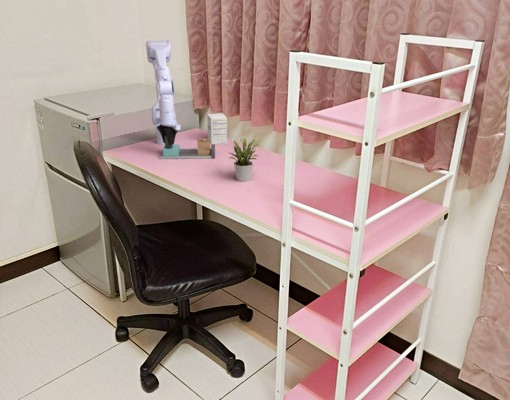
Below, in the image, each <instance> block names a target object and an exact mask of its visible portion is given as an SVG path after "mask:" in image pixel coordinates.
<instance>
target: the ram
mask: <svg viewBox="0 0 510 400" xmlns="http://www.w3.org/2000/svg"><path fill="white" fill-rule="evenodd" d="M163 146H164V147H163V148H162V149H163V156H179V153H180V149H181V147H180V144H173V145H169V144H168V138H167V135H165V145H163Z"/></svg>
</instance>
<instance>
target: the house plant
mask: <svg viewBox="0 0 510 400" xmlns="http://www.w3.org/2000/svg"><path fill="white" fill-rule="evenodd" d="M259 138H261V137H259V136H258V137H256V138H253V140H252V141H251V142H249V143H248V144H247V139H246V137H245V136H244V135H242V138H240V137H238V139H239V140H240V142H241V146H242V148H241V146H239V144H238V142H237V141H236V140H235V139H233V138H231V140H232V142H233V144H234V147H233V146H231V145H230V146H231V147H232V148H233V151H234V152H229V154H231V155H232V156H229V157H228V159H232V160H235V161H233V166H234V171H235V177H236V180H237V181H238V182H249V181H250V180H251V179H252V178H251V177H252V173H253V167H254V162H253V161H252V160H257V158H258V159H259V158H260V157H259V155H258V154H254V153H255V152H256V151H257V150H258V148H256V147H257V146H259V145H264V142H263V143H261V142H260V141H259V142H257V143H255V142H256V141H257V140H258V139H259ZM254 143H255V144H254ZM253 154H254V155H253ZM256 157H257V158H256ZM257 161H258V160H257Z"/></svg>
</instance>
